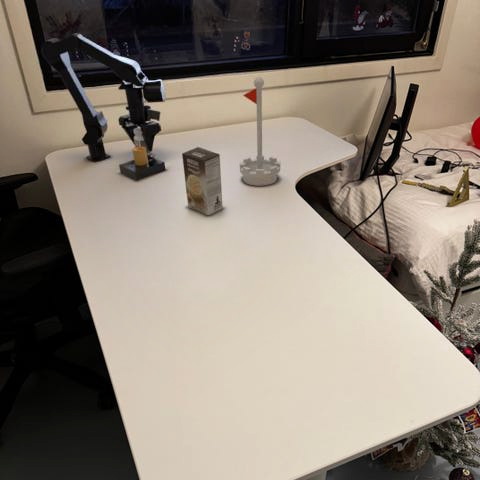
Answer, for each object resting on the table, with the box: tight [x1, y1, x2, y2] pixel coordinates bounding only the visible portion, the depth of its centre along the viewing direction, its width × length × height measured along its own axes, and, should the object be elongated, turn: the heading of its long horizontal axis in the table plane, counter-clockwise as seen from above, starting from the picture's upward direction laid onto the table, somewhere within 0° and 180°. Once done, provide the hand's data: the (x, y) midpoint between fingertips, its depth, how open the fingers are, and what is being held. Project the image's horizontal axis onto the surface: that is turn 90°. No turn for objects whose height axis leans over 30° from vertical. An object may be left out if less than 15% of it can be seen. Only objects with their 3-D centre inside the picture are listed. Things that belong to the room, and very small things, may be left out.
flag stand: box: [239, 76, 281, 187], centre depth 141 cm, size 13×13×30 cm
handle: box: [132, 146, 148, 166], centre depth 156 cm, size 4×4×5 cm
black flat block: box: [118, 156, 166, 181], centre depth 159 cm, size 10×12×3 cm
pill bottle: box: [134, 127, 153, 157], centre depth 168 cm, size 6×6×10 cm
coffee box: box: [181, 146, 224, 216], centre depth 130 cm, size 9×6×16 cm
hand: (143, 148), depth 169 cm, fingers open, 9 cm apart
